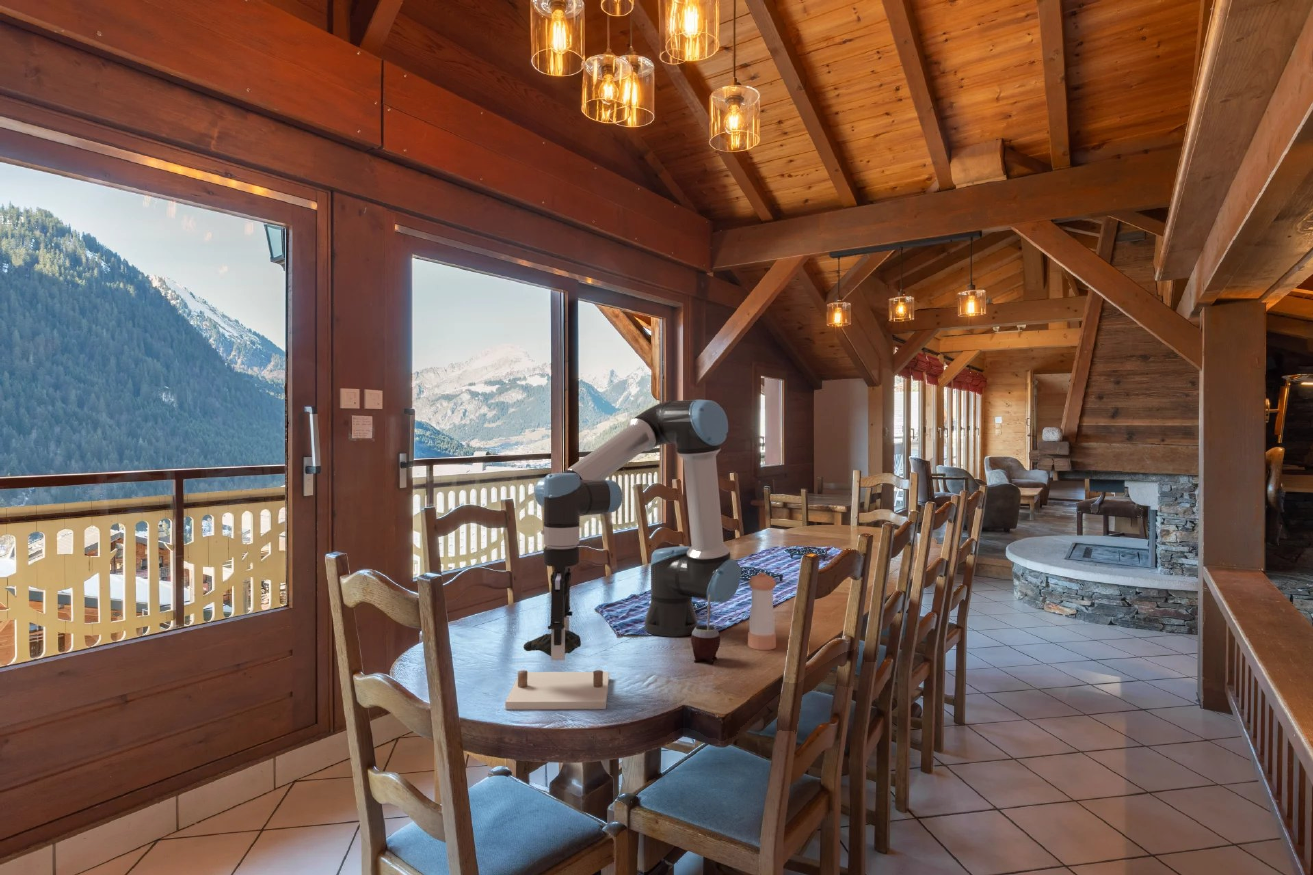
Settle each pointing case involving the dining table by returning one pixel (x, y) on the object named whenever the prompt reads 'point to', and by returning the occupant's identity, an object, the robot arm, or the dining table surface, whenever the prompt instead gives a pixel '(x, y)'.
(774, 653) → the dining table surface
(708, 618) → the mate gourd
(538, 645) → the stone
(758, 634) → the pepper shaker
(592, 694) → the board
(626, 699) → the dining table surface
